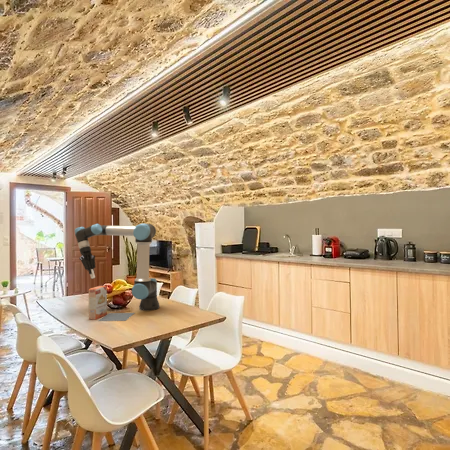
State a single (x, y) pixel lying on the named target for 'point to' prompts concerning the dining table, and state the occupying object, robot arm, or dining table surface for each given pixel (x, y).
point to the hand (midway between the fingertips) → (93, 278)
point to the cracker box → (97, 302)
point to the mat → (116, 317)
